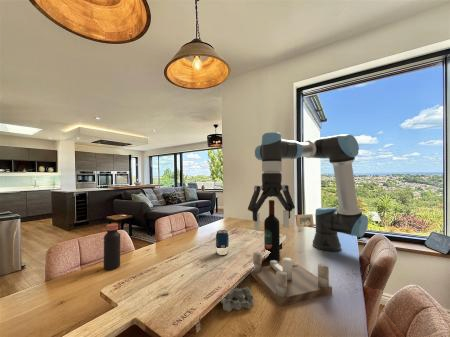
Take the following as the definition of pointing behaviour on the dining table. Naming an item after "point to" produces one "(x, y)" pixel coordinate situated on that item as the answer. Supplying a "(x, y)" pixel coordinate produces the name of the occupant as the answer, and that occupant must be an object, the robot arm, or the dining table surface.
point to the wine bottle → (272, 234)
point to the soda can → (222, 239)
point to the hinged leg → (286, 267)
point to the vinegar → (112, 247)
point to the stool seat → (291, 282)
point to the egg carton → (240, 295)
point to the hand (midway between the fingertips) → (271, 228)
